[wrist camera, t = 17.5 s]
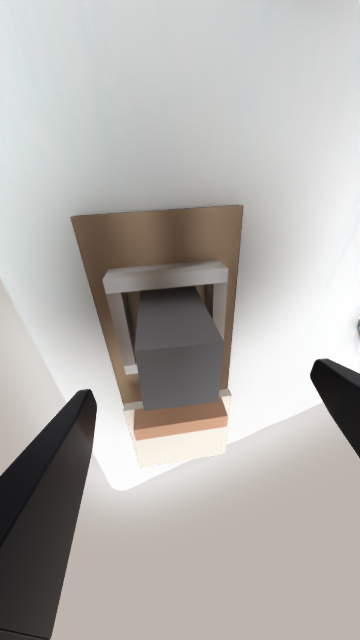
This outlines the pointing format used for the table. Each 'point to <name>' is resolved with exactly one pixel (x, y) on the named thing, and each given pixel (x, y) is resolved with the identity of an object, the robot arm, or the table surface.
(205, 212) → the socket board
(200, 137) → the table surface
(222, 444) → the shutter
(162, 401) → the plug
